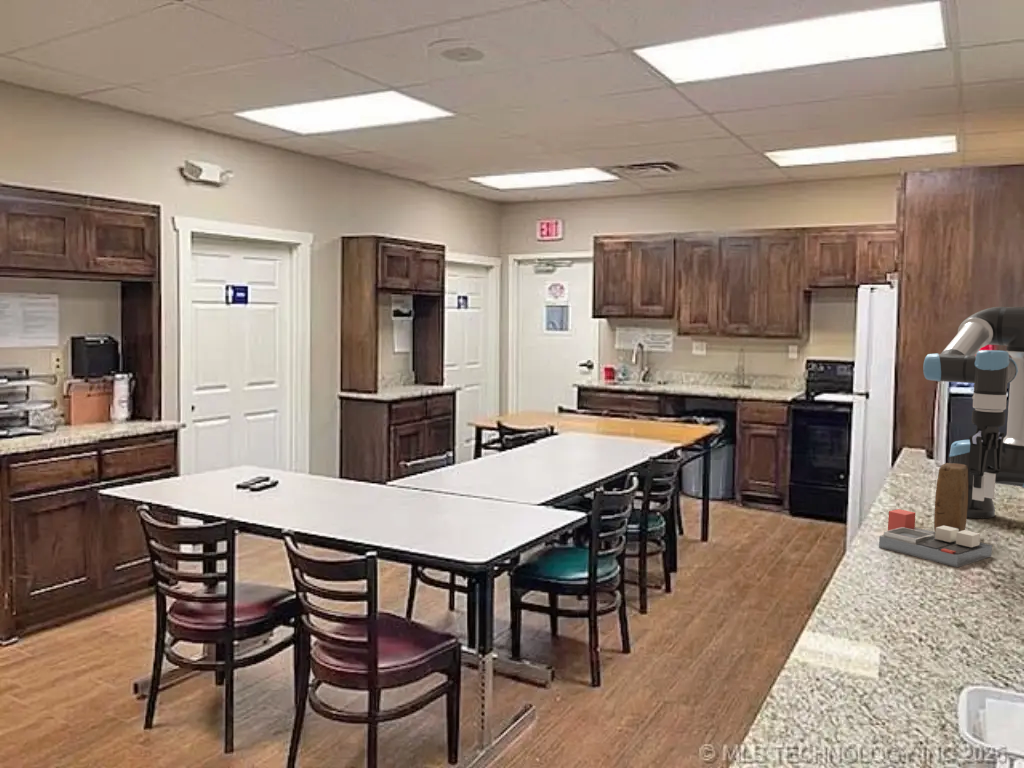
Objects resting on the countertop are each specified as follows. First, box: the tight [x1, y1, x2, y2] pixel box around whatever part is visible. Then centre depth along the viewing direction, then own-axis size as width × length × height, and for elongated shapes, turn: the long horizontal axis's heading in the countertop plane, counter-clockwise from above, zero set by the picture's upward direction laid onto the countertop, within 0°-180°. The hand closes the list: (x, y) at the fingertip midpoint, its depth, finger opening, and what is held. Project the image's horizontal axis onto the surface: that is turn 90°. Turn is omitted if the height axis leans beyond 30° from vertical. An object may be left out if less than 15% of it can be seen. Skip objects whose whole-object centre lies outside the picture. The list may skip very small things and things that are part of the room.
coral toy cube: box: [887, 508, 916, 531], centre depth 239 cm, size 5×5×7 cm
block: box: [933, 462, 968, 532], centre depth 242 cm, size 11×8×20 cm
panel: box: [878, 526, 993, 568], centre depth 224 cm, size 17×21×4 cm
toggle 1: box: [934, 526, 959, 542], centre depth 223 cm, size 4×4×3 cm
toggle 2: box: [956, 529, 981, 547], centre depth 219 cm, size 4×4×3 cm
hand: (983, 498), depth 221 cm, fingers open, 5 cm apart
